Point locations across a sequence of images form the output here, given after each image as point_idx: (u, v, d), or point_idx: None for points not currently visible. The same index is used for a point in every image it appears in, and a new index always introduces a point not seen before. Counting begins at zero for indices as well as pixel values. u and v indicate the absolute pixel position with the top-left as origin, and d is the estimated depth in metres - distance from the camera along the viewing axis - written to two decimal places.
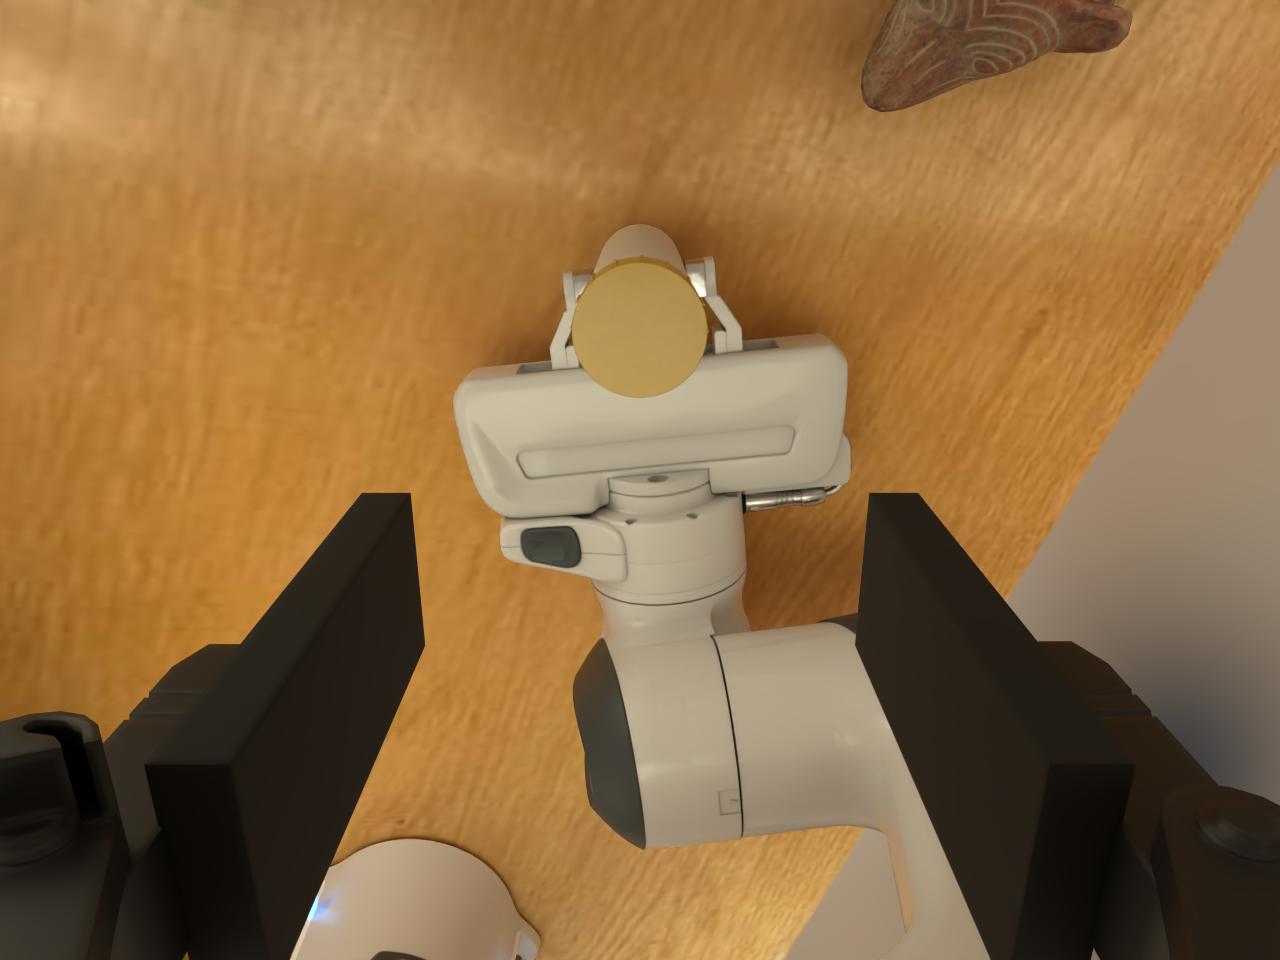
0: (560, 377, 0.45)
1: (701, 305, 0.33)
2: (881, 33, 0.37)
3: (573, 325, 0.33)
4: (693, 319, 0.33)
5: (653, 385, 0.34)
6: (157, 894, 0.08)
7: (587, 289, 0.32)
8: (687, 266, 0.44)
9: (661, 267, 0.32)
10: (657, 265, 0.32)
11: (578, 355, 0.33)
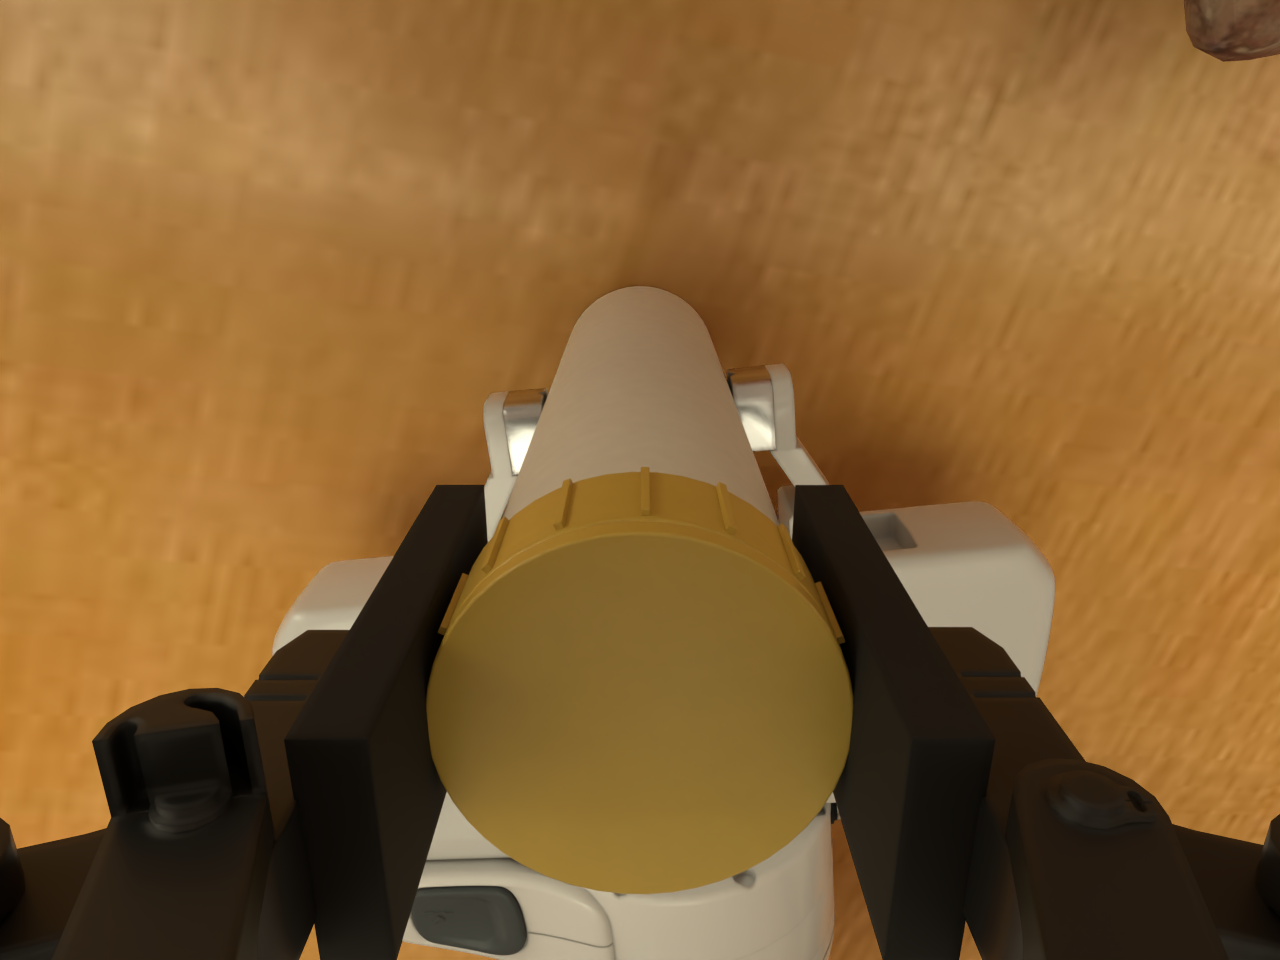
0: None
1: (839, 656, 0.10)
2: None
3: (430, 710, 0.10)
4: (811, 695, 0.10)
5: (681, 865, 0.11)
6: (294, 864, 0.08)
7: (469, 611, 0.10)
8: (737, 390, 0.21)
9: (712, 547, 0.10)
10: (699, 539, 0.10)
11: (450, 790, 0.11)
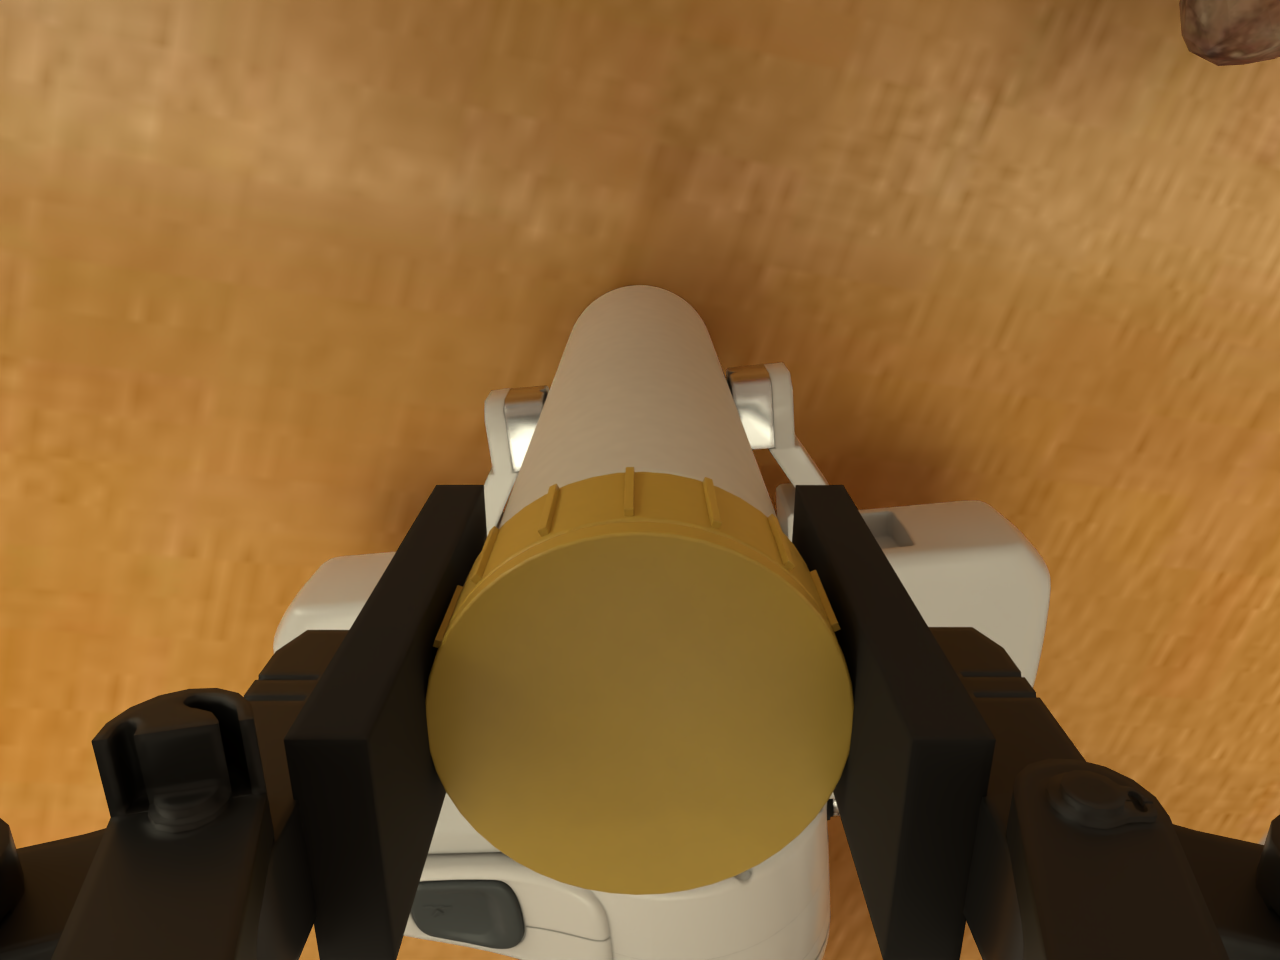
0: None
1: (468, 610, 0.10)
2: None
3: (709, 881, 0.11)
4: (521, 612, 0.10)
5: (780, 626, 0.10)
6: (294, 865, 0.08)
7: (596, 888, 0.11)
8: (736, 388, 0.22)
9: (432, 755, 0.11)
10: (436, 761, 0.11)
11: (785, 842, 0.11)
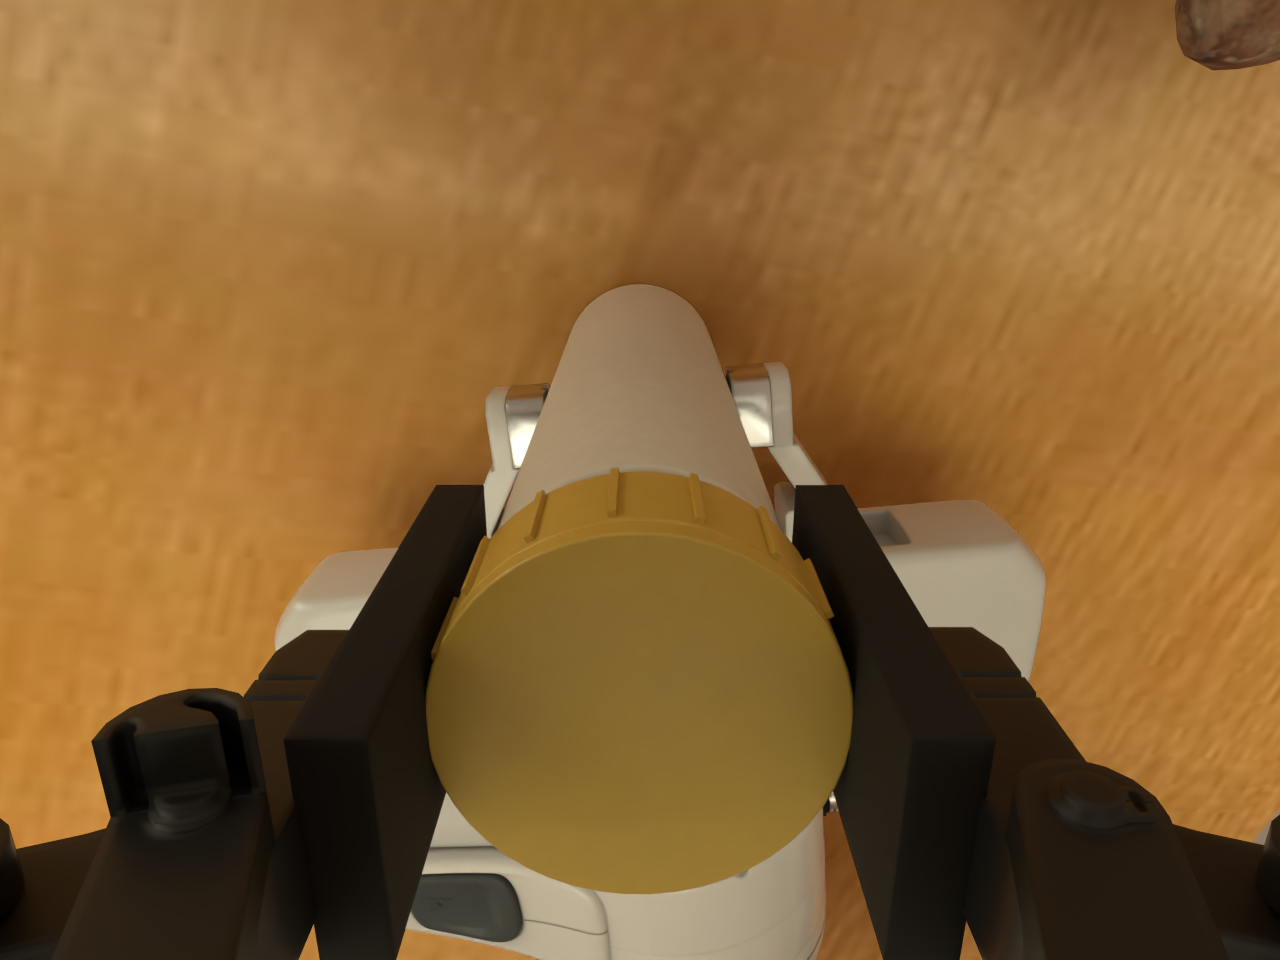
0: None
1: (595, 888, 0.11)
2: None
3: (789, 590, 0.10)
4: (575, 856, 0.11)
5: (469, 671, 0.10)
6: (294, 865, 0.08)
7: (846, 686, 0.10)
8: (735, 387, 0.22)
9: (752, 866, 0.11)
10: (762, 856, 0.11)
11: (700, 547, 0.10)
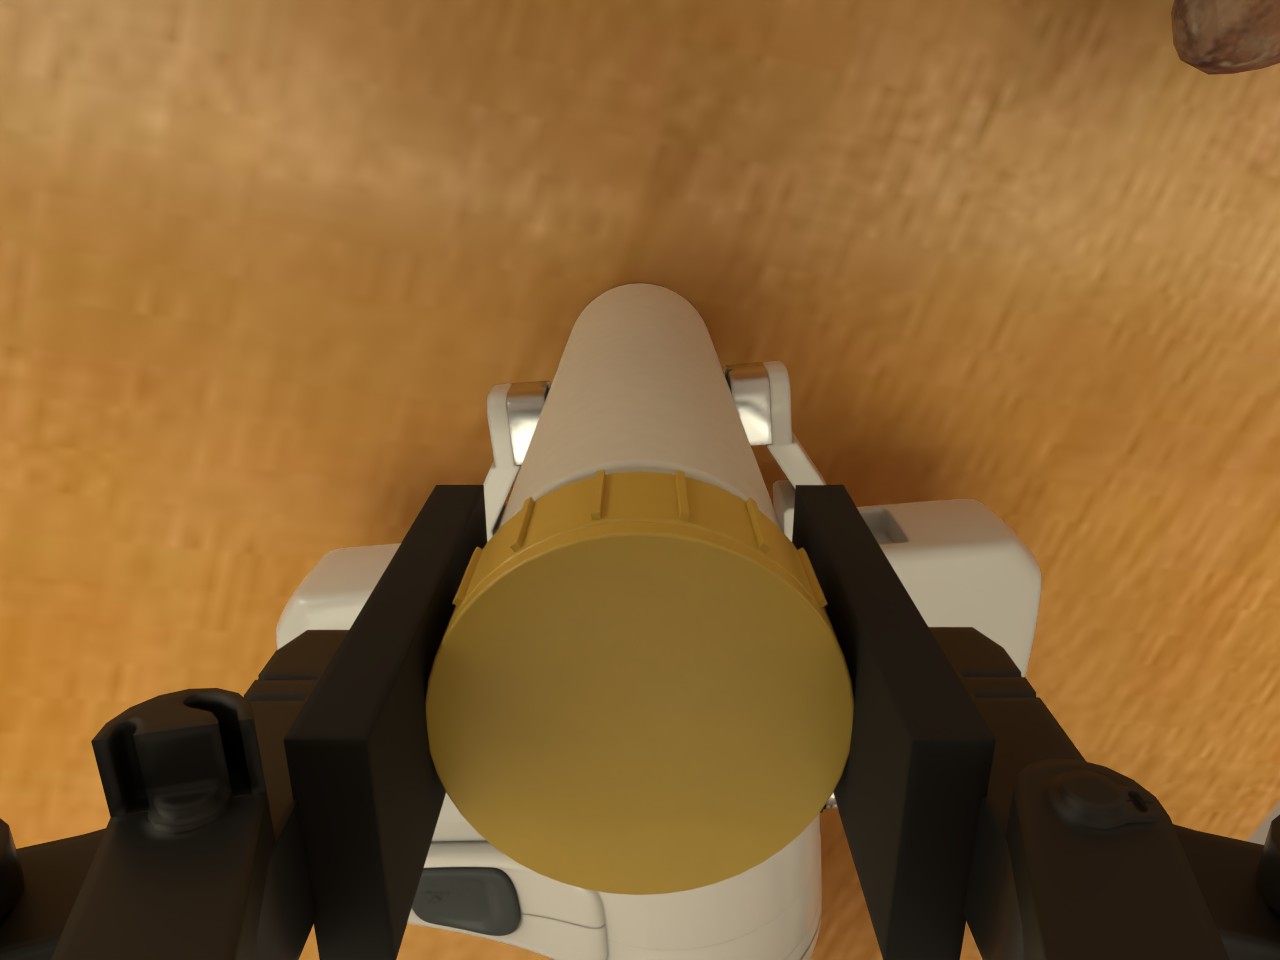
0: None
1: (848, 687, 0.10)
2: None
3: (433, 680, 0.10)
4: (814, 721, 0.10)
5: (653, 869, 0.11)
6: (294, 865, 0.08)
7: (494, 587, 0.10)
8: (735, 385, 0.22)
9: (748, 561, 0.10)
10: (736, 551, 0.10)
11: (438, 763, 0.11)
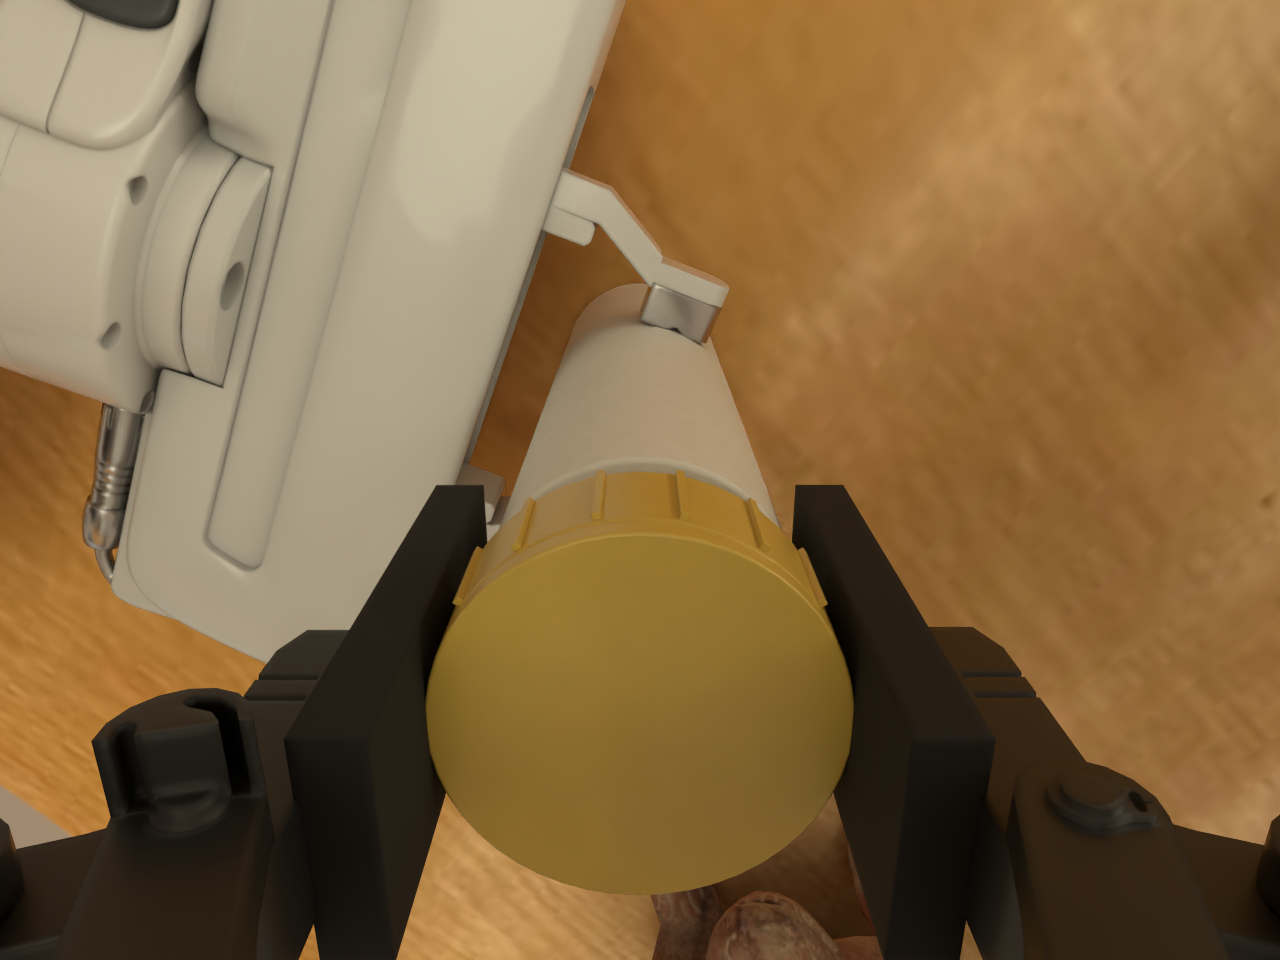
0: (541, 185, 0.20)
1: (848, 687, 0.10)
2: None
3: (433, 680, 0.10)
4: (814, 721, 0.10)
5: (652, 869, 0.11)
6: (294, 865, 0.08)
7: (494, 586, 0.10)
8: None
9: (748, 561, 0.10)
10: (736, 551, 0.10)
11: (437, 762, 0.11)
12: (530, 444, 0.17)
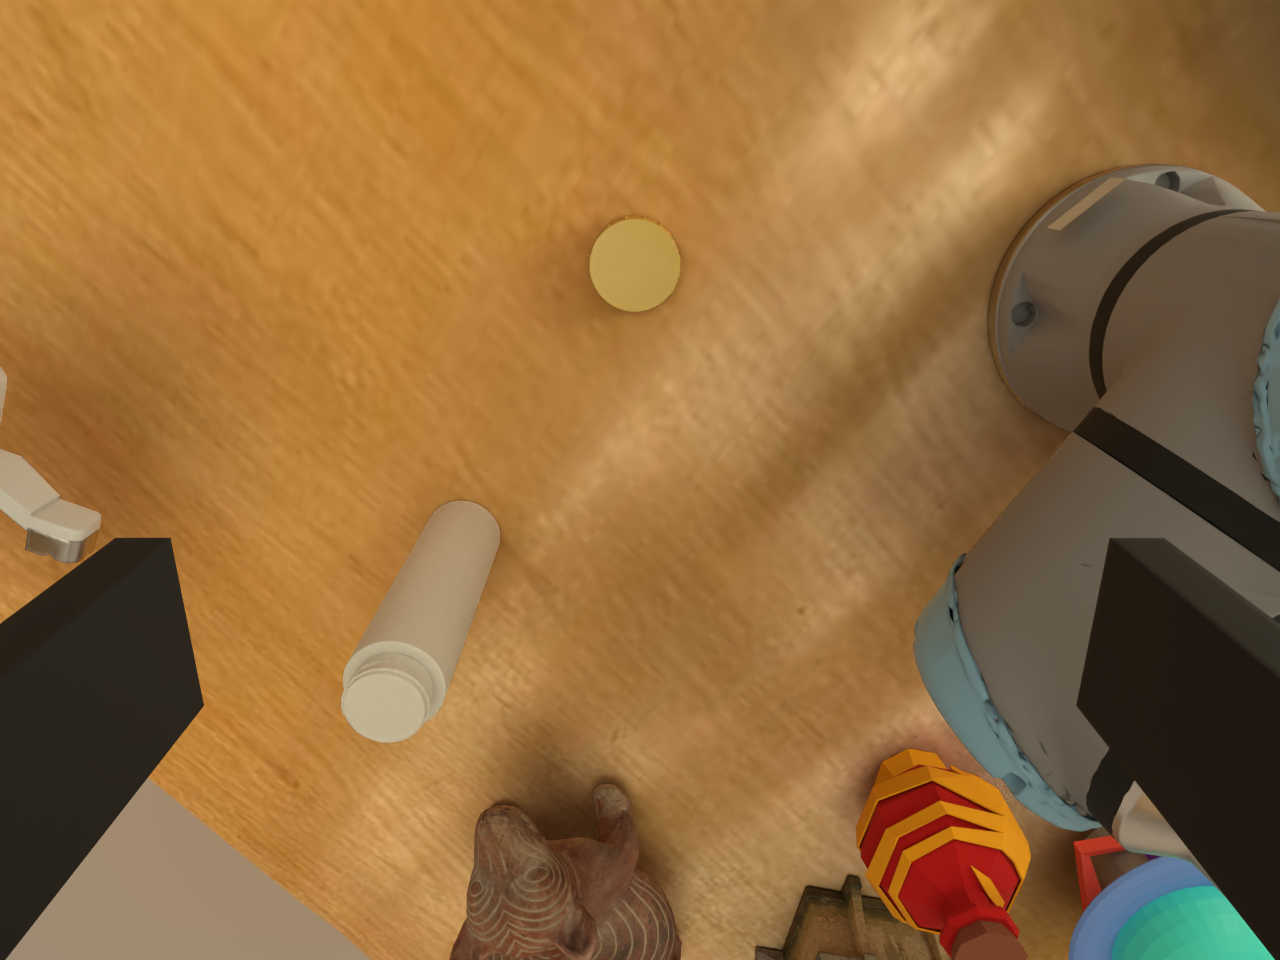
0: None
1: (678, 255, 0.49)
2: (529, 834, 0.51)
3: (591, 254, 0.49)
4: (671, 263, 0.49)
5: (637, 304, 0.50)
6: None
7: (605, 231, 0.48)
8: None
9: (656, 225, 0.48)
10: (653, 223, 0.48)
11: (591, 274, 0.49)
12: None
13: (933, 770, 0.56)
